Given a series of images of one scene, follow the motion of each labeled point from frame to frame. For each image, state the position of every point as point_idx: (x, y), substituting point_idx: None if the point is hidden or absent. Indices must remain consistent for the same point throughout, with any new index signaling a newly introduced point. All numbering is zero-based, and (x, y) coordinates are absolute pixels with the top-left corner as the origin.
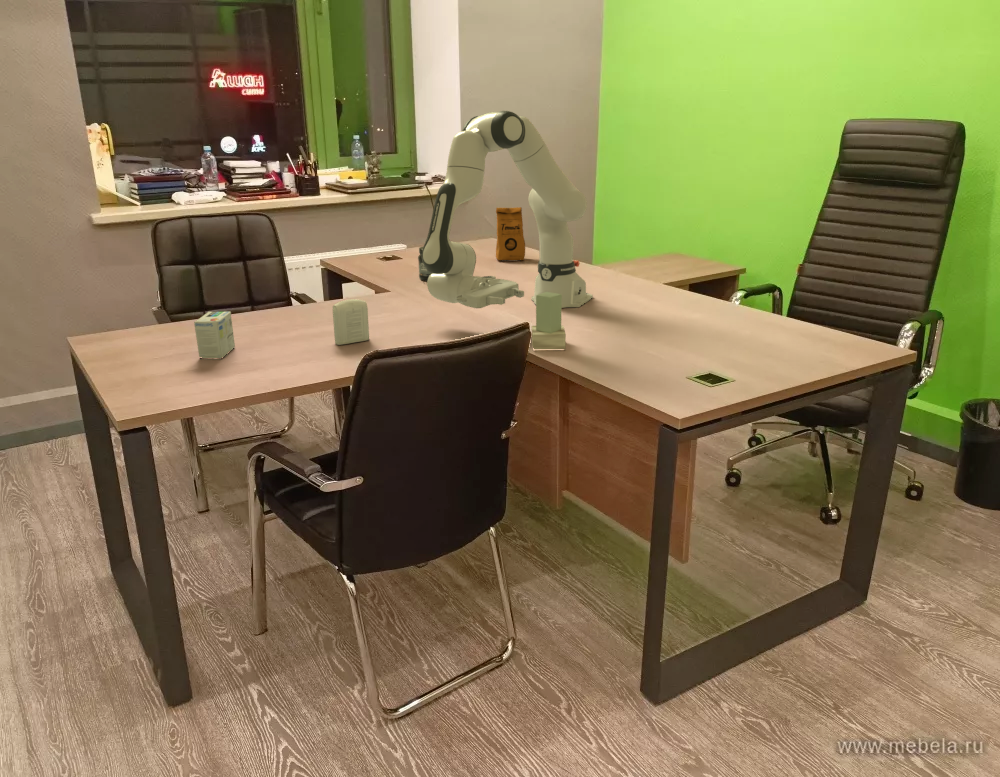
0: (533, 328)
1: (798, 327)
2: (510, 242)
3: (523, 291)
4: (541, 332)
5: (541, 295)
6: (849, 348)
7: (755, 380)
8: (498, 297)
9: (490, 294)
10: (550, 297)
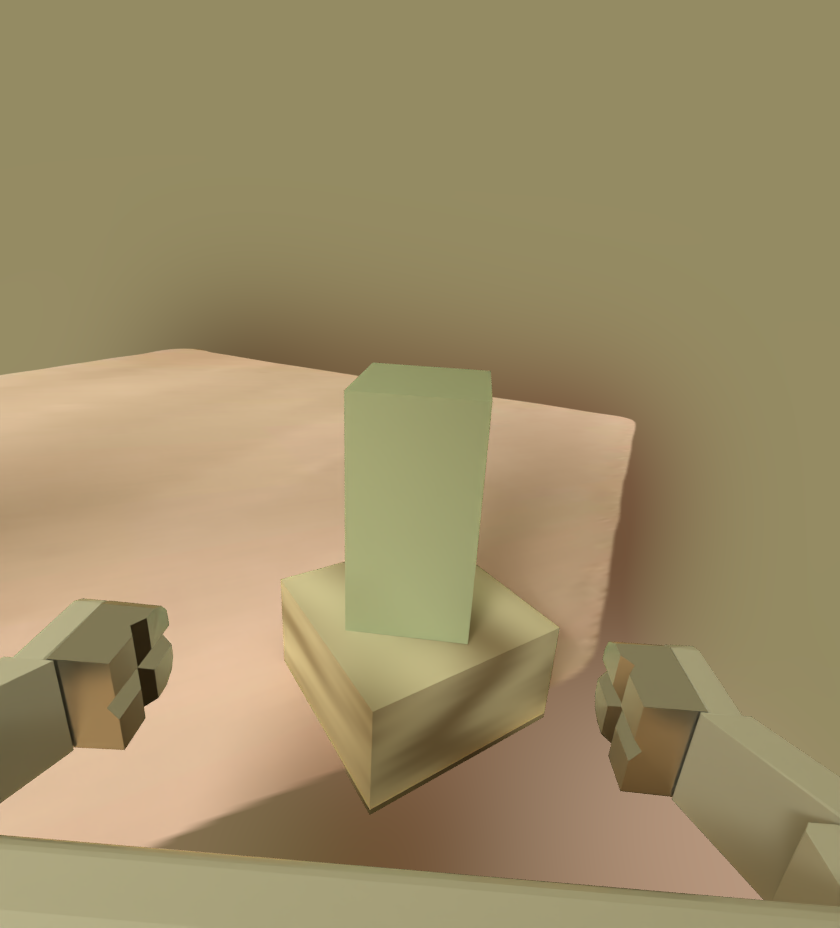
0: (436, 673)
1: (20, 380)
2: None
3: (91, 601)
4: (485, 610)
5: (476, 389)
6: (174, 362)
7: None
8: (697, 711)
9: (832, 911)
10: (488, 371)
